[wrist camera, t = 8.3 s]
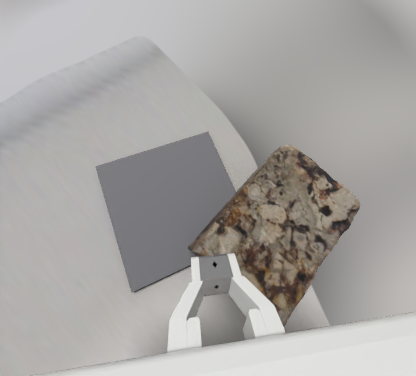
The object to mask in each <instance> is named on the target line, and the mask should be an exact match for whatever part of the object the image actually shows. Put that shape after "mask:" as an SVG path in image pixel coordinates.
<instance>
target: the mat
mask: <svg viewBox="0 0 416 376" xmlns="http://www.w3.org/2000/svg"><path fill="white" fill-rule="evenodd" d="M96 170H97V173H98V177H99V180H100V184H101V187H102V191H103V194H104V198H105V201H106V205H107V208H108V212H109V215H110V219H111V222H112V226H113V229H114V232H115V236H116V239H117V243H118V246H119V250H120V253H121V257H122V260H123V264H124V267H125V271H126V274H127V278H128V281H129V285H130V288H131V292H134V291H136V290H138V289H140V288H143V287H145V286H147V285H149V284H151V283H153V282H155V281H157V280H160V279H162V278H164V277H166V276H168V275H170V274H172V273H174V272H177V271H179V270H181V269H183V268H185V267H187V266H189V265H191V257H197V256H196V255H195V254H193V253H192V252H191V251H190V250H189V249H188V246H189V245H191V243H192V242H193V241H194V240H195V239H196V238H197V236H198V235H199V234H200V233H201V232H202V231H203V229H204V228H205V227H206V226H207V225H208V224H209V223H210V221H211V220H212V219H213V218H214V217H215V215H216V214H217V213H218V212H219V211H220V210H221V209H222V208H223V207H224V206H225V204H226V203H227V202H228V201H229V200H230V199H231V198H232V197H233V196H234V195H235V193H236V191H235V189H234V187H233V185H232V182H231V180H230V178H229V176H228V174H227V172H226V169H225V167H224V165H223V163H222V161H221V159H220V156H219V154H218V152H217V150H216V148H215V146H214V143H213V141H212V139H211V137H210V135H209V132H206V133H202V134H199V135H196V136H193V137H189V138H186V139H183V140H180V141H177V142H173V143H170V144H167V145H164V146H160V147H157V148H154V149H151V150H147V151H144V152H141V153H138V154H135V155H131V156H128V157H125V158H122V159H118V160H115V161H112V162H109V163H105V164H102V165H99V166H96Z"/></svg>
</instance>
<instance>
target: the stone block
mask: <svg viewBox="0 0 416 376" xmlns="http://www.w3.org/2000/svg"><path fill="white" fill-rule="evenodd" d="M359 208H360V202H359V201H358V199H357V198H356V196H355V195H354V194H353V193H352V192H351V191H350V190H349V189H348V188H346V187H345V186H343V185H342V184H340V183H338V182H337V181H335V180H333V179H332V178H331V177H330V176H329V175H328V174H327V173H326V172H325V171H324V170H323V169H321V168H320V167H319V166H318V165H317V164H316V163H315V162H314V161H313V160H312V159H311V158H309V157H308V156H306V155H305V154H303V153H302V152H301V151H299V150H298V149H297V148H295V147H294V146H291V145H286V146H283V147H280V148H278V149H277V150H276V151H274V152H273V154H271V155H270V156H269V157H268V158H267V160H265V161H264V162H263V163H262V164H261V166H260V167H259V168H258V169H257V170H256V171H255V172H254V173H253V174H252V175H251V176H250V177H249V179H248V180H247V181H246V182H245V183H244V184H243V185H242V186H241V187H240V188H239V190H238V191H237V192H236V193H235V195H234V196H233V197H232V198H231V199H230V200H229V201H228V202H227V203H226V204H225V206H224V207H223V208H222V209H221V210H220V211H219V212H218V213H217V214H216V215H215V217H214V218H213V219H212V220H211V221H210V223H209V224H208V225H207V226H206V227H205V228H204V229H203V231H202V232H201V233H200V234H199V235H198V236H197V238H196V239H195V240H194V241H193V242H192V243H191V245H189V246H188V249H189V250H190V251H191V252H192V253H193V254H195V255H196V256H197V257H201V256H213V255H220V254H231V253H234V254H235V256H236V259H237V262H238V265H239V268H240V272H241V275H242V276H245V277H246V278H247V279H248V280H249V281H250V282H251V283H252V284H253V285H254V286H255V287H256V288H257V289H258V290H259V291H260V292H261V293H262V294H263V295H264V296H265V297H266V298H267V299H268V300H269V301H270V302H271V303H272V304H273V305H274V306H275V308H276V311H277V313H278V315H279V318H280V320H281V322H282V325H283V327H284V326H285V324H286V322H287V320H288V318H289V317H290V315H291V313H292V312H293V310H294V309H295V307H296V306H297V304H298V303H299V302H300V300H301V299H302V298H303V296H304V295H305V292H306V291H307V289H308V288H309V286H310V285H311V283H312V281H313V279H314V276H315V273H316V272H317V269H318V267H319V266H320V265H321V263H322V262H323V260H324V259H325V257H326V256H327V255H328V254H329V253H330V252H331V250H332V248H333V247H334V246H335V244H336V243H337V242H338V240H339V238H340V236H341V235H342V234H343V233H344V231H346V230H347V229H348V228H349V227H350V225H351V222H352V221H353V218H354V216H355V215H356V214H357V212H358V210H359Z"/></svg>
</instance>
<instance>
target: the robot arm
mask: <svg viewBox="0 0 416 376" xmlns="http://www.w3.org/2000/svg"><path fill="white" fill-rule="evenodd" d="M191 273H192V282H189V284H188V286H187V288H186V290H185V292H184V294H183V296H182V297H181V299H180V301H179V303H178V305H177V307H176V309H175V310H174V312H173V314H172V316H171V318H170V320H169V334H168V348H167V353H163V354H157V355H151V356H145V357H139V358H133V359H127V360H121V361H115V362H109V363H103V364H97V365H91V366H85V367H79V368H73V369H67V370H61V371H55V372H49V373H43V374H37V375H31V376H416V312H411V313H405V314H399V315H393V316H387V317H381V318H375V319H369V320H362V321H356V322H350V323H344V324H338V325H332V326H326V327H320V328H314V329H308V330H302V331H296V332H290V333H286V332H285V330H284V327H283V325H282V322H281V320H280V318H279V315H278V313H277V311H276V308H275V306H274V305H273V304H272V303H271V302H270V301H269V300H268V299H267V298H266V297H265V296H264V295H263V294H262V293H261V292H260V291H259V290H258V289H257V288H256V287H255V286H254V285H253V284H252V283H251V282H250V281H249V280H248V279H247V278H246V277H245V276H242V275H241V272H240V268H239V265H238V262H237V259H236V256H235V254H234V253H231V254H220V255H213V256H201V257H191ZM227 293H229V295H230V297H231V298H232V299H233V301H234V302H235V303H236V304H237V306H238V307H239V308H240V310H241V311H242V312H243V314H244V315H245V316H246V321H245V324H244V327H243V334H244V338H245V340H242V341H236V342H230V343H224V344H218V345H212V346H205V347H202V343H201V330H200V319H199V318H198V317H196V315H197V312H198V309H199V307H200V304H201V302H202V299H203V296H210V295H216V294H227Z"/></svg>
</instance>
